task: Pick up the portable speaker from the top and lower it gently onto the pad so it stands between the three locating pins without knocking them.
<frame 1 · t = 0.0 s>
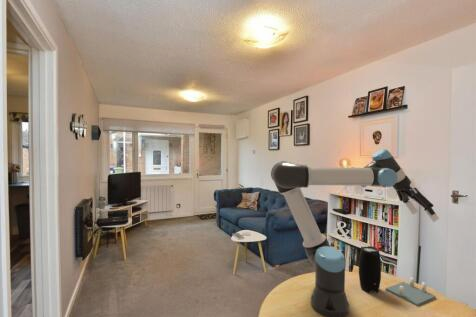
hand: (425, 216, 116), 36 cm above the table, tool tilted 35°, fingers open, 13 cm apart
pin pad: (409, 294, 115), on the table
portable speaker: (369, 289, 119), on the table
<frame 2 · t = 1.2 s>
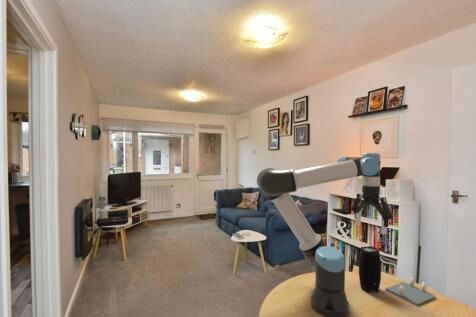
hand: (370, 229, 119), 29 cm above the table, tool pointing down, fingers open, 13 cm apart
nothing on the table moved.
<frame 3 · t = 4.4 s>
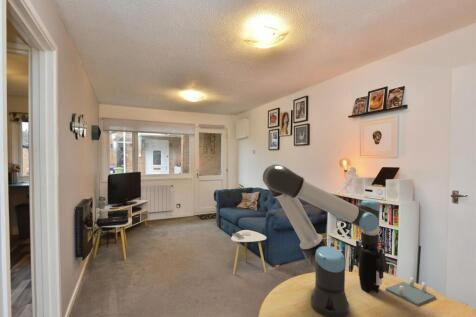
hand: (369, 279, 119), 4 cm above the table, tool pointing down, fingers closed on portable speaker, 9 cm apart
portable speaker: (369, 289, 119), on the table, touching gripper
when the fingers open (7 cm above the table, at t = 11.8 s): portable speaker drops 1 cm, resting on pin pad.
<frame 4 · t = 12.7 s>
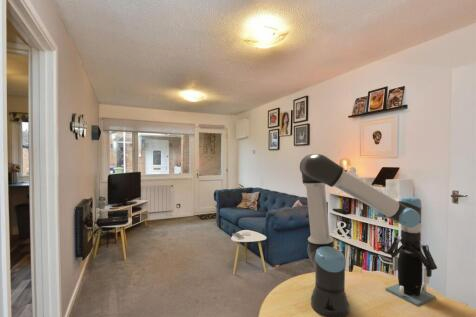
hand: (410, 276, 115), 8 cm above the table, tool pointing down, fingers open, 13 cm apart
portable speaker: (409, 292, 115), point 1 cm above the table, touching pin pad
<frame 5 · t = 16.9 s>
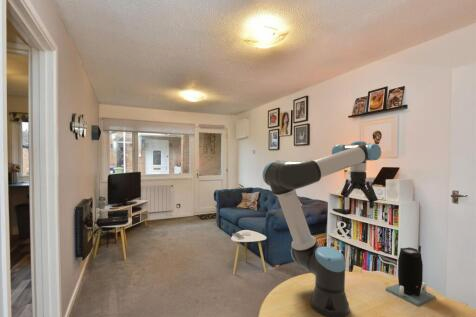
hand: (357, 211, 130), 35 cm above the table, tool pointing down, fingers open, 13 cm apart
nothing on the table moved.
at the end: portable speaker 0.1 cm off-centre on the pin pad, point 0.8 cm above the pin pad's base; portable speaker tilted 0°; the gripper is holding nothing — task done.
